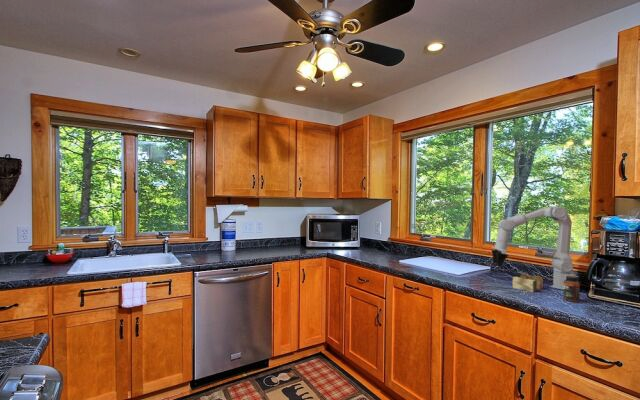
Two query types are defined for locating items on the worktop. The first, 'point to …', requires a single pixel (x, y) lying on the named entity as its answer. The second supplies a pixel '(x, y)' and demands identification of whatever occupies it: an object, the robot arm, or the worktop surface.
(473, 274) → the worktop surface
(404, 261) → the worktop surface
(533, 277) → the bracket
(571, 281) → the supplement bottle
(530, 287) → the beige block
